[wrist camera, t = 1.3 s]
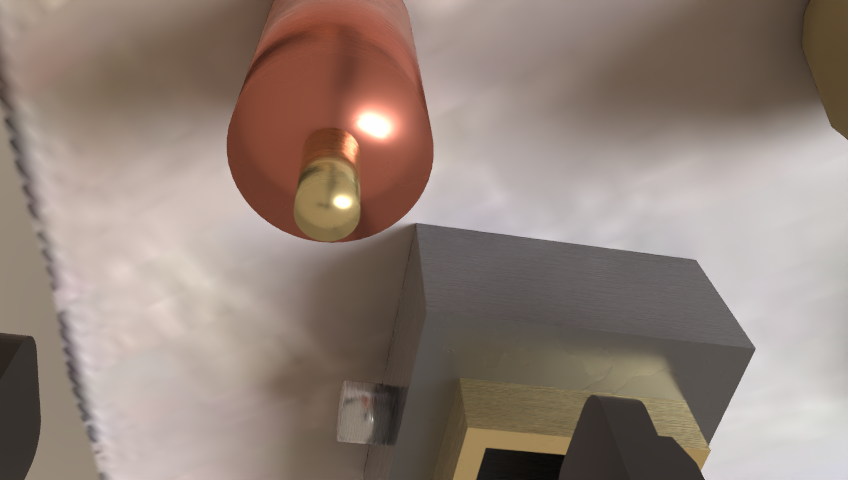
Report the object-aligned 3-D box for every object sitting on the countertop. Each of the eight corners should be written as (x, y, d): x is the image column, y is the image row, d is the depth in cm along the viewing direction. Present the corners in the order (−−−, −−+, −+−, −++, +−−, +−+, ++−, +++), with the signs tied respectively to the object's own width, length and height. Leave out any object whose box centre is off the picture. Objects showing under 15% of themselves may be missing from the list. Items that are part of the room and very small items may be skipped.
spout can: (274, -52, 27) (213, 82, 16) (423, -25, 28) (466, 121, 16) (261, 91, 29) (200, 296, 18) (398, 112, 30) (421, 321, 19)
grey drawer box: (366, 216, 32) (368, 351, 25) (695, 260, 34) (787, 395, 27) (322, 470, 39) (313, 634, 32) (599, 493, 41) (651, 651, 34)
